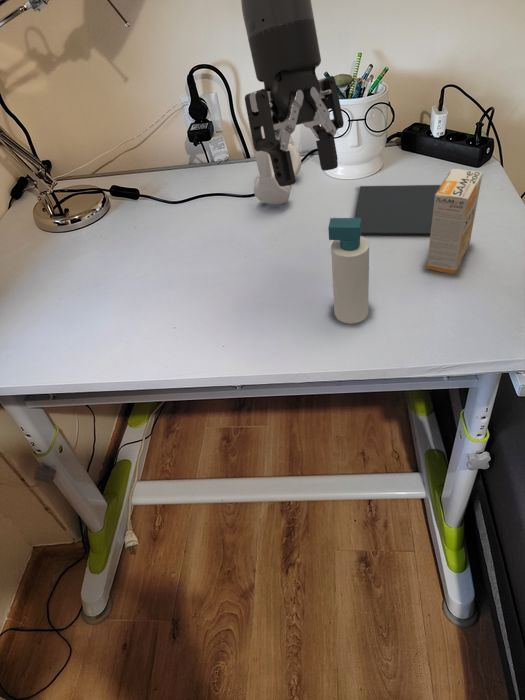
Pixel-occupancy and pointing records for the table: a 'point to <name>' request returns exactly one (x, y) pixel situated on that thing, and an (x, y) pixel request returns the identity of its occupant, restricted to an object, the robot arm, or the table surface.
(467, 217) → the supplement box
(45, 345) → the table surface
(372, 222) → the mat
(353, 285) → the spray bottle
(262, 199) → the headphones
